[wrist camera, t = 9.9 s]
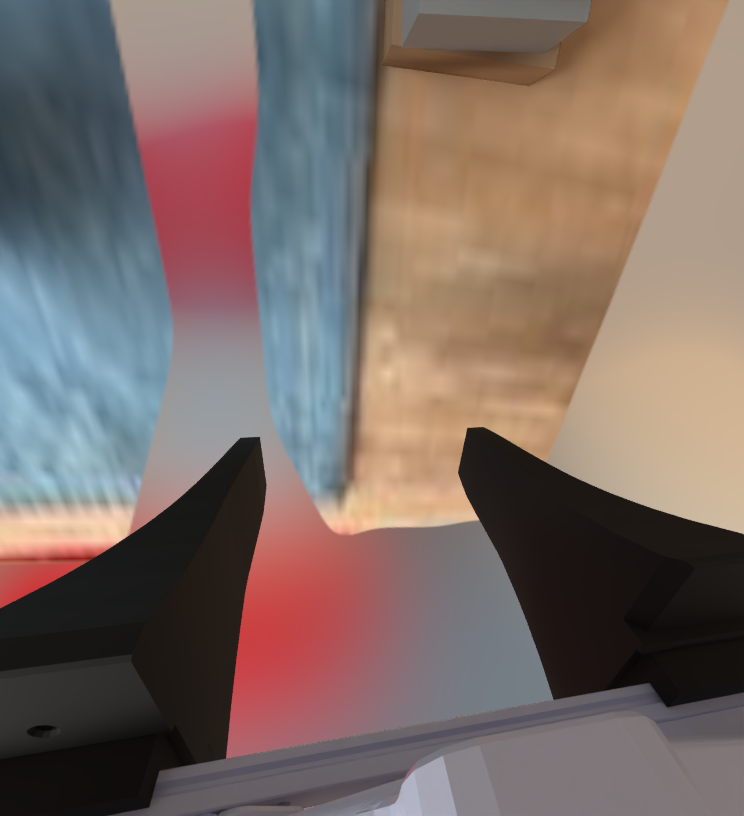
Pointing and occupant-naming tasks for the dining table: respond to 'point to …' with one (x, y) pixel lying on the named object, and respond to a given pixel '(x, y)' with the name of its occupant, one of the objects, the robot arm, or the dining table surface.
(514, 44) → the top block
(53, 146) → the dining table surface
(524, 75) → the base block
